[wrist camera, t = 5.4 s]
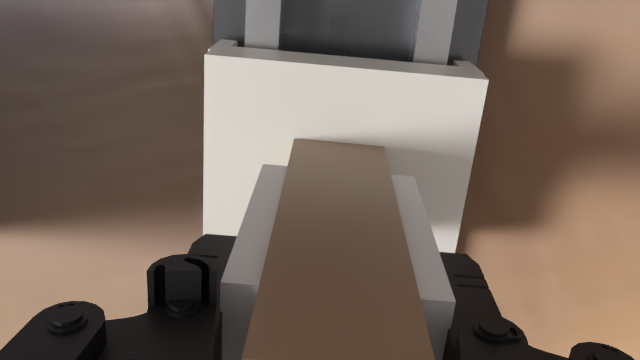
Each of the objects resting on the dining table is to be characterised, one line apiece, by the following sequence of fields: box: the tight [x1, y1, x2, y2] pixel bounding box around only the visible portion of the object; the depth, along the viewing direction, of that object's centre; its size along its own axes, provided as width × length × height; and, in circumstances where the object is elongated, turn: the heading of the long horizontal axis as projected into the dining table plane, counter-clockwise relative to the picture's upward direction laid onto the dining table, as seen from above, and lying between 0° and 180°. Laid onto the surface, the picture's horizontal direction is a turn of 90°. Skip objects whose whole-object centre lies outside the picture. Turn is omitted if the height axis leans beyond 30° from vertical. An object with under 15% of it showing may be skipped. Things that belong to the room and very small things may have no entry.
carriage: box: [203, 39, 489, 360], centre depth 16 cm, size 8×9×14 cm
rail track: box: [213, 0, 488, 66], centre depth 23 cm, size 24×10×3 cm, turn 175°
